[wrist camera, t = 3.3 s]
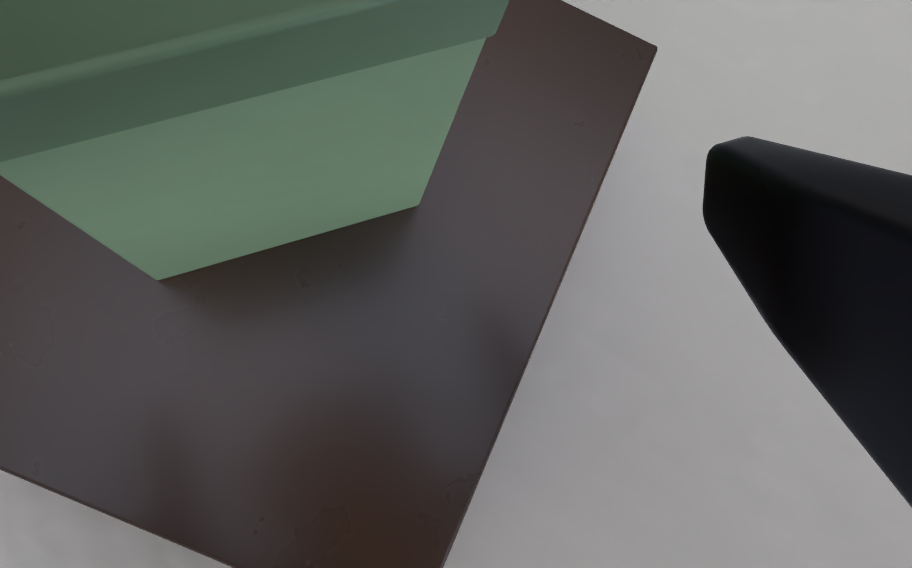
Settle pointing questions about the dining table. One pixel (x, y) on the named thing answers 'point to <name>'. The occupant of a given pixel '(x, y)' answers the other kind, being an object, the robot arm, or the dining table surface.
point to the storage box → (321, 333)
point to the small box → (229, 115)
